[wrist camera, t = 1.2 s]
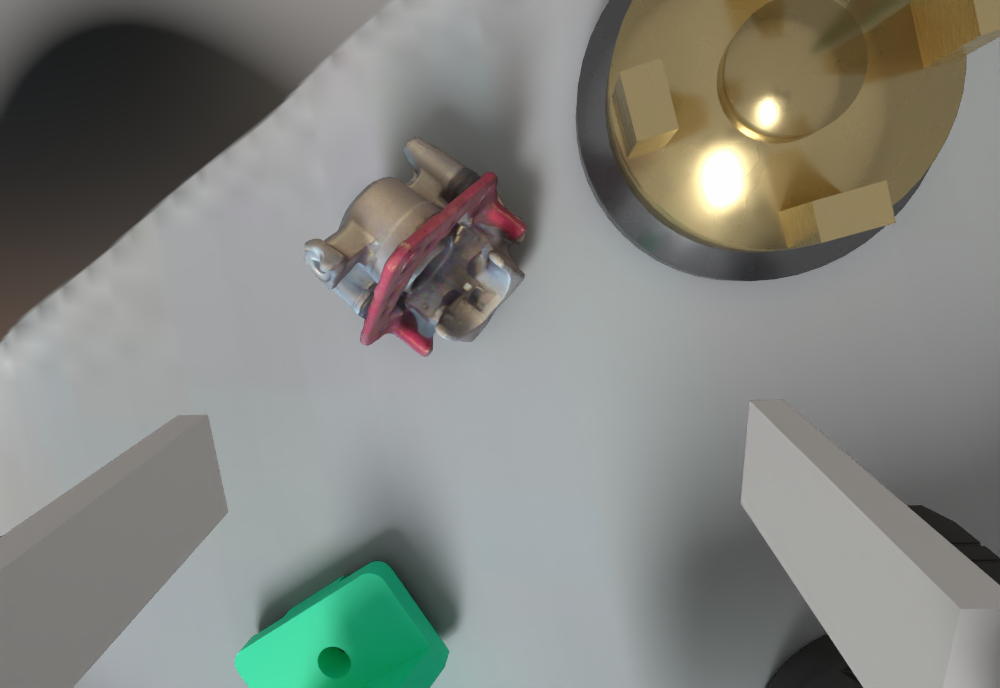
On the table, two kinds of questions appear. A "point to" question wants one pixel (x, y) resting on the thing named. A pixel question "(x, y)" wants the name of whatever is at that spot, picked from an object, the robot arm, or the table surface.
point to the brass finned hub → (785, 111)
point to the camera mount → (348, 639)
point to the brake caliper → (423, 252)
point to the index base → (644, 225)
